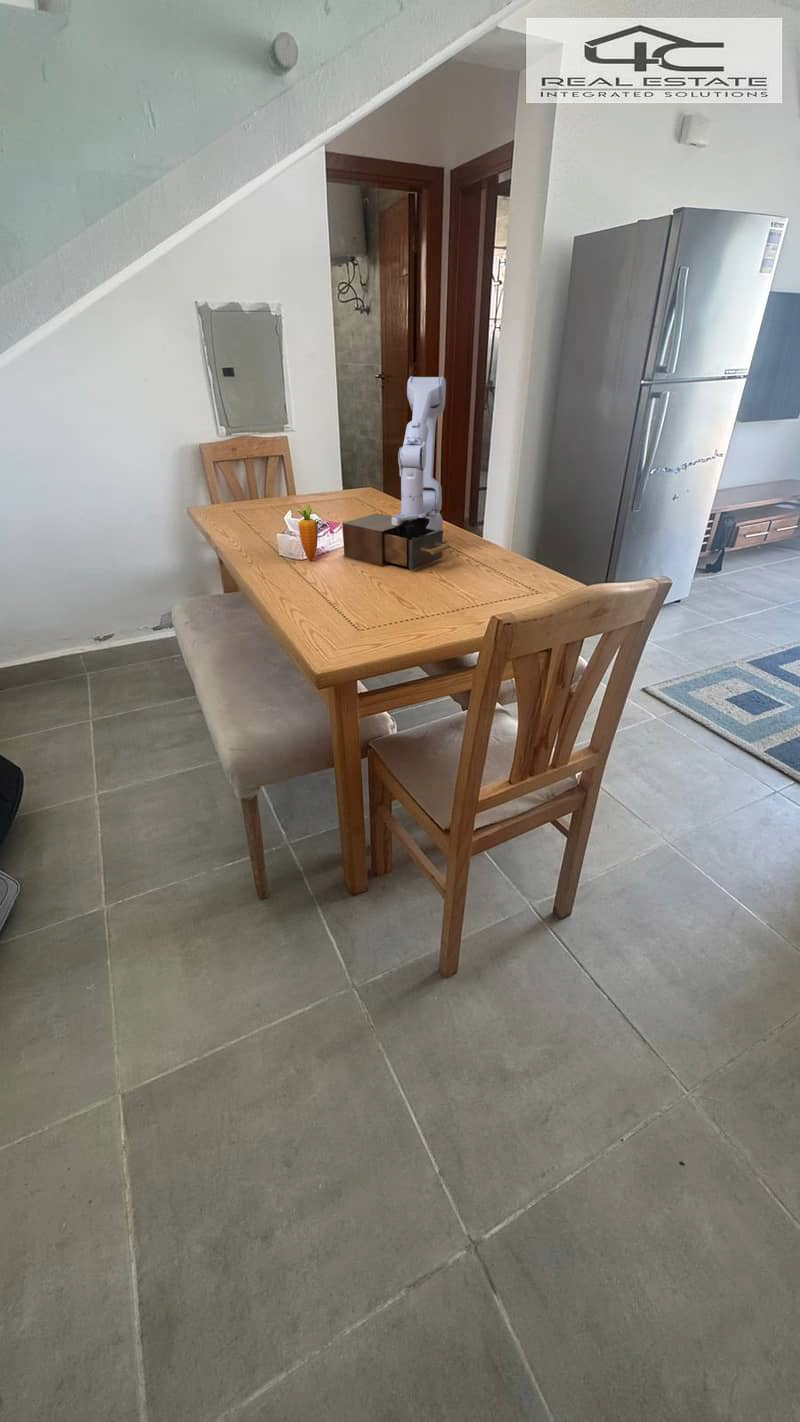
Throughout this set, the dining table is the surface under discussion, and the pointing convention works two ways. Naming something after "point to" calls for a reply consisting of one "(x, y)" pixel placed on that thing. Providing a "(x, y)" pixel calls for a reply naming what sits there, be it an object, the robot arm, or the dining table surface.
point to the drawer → (414, 548)
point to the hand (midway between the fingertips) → (411, 547)
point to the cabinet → (367, 538)
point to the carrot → (308, 533)
